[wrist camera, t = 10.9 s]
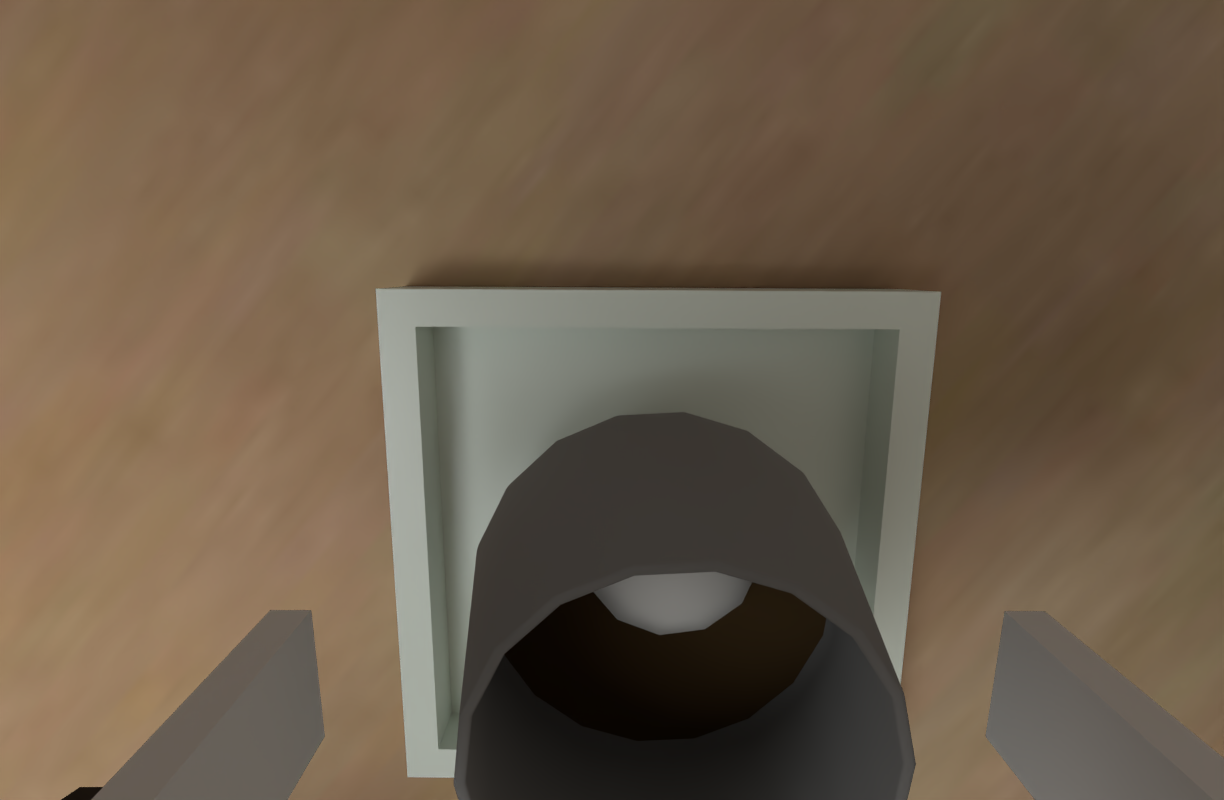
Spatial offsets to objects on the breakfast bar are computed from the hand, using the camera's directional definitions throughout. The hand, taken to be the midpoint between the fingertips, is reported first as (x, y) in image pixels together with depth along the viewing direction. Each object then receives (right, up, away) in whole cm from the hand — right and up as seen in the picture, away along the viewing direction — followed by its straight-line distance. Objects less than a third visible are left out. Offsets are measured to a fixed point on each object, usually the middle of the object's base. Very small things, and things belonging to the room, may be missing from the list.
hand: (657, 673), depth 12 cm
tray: (0, +1, +9) cm, 9 cm away
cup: (0, +1, +8) cm, 8 cm away
